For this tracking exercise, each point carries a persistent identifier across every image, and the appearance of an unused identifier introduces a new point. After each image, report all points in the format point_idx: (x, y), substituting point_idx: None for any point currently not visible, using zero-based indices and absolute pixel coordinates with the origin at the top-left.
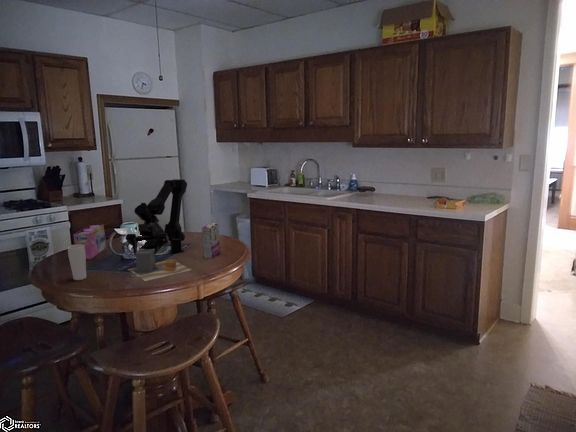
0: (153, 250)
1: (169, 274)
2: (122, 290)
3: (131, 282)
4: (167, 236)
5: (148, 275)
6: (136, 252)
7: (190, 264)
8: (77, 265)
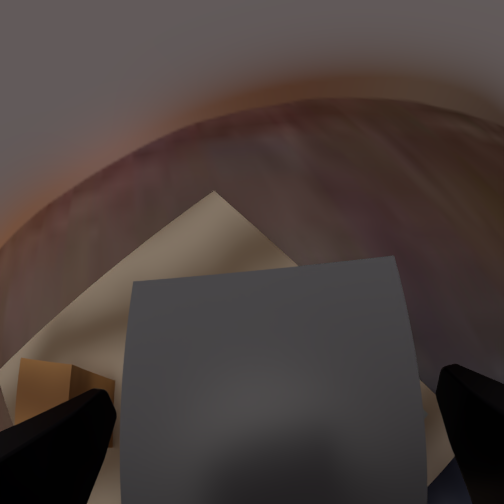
0: (128, 501)
1: (87, 303)
2: (293, 113)
3: (302, 189)
4: None
5: None
6: (454, 453)
7: None
8: None
